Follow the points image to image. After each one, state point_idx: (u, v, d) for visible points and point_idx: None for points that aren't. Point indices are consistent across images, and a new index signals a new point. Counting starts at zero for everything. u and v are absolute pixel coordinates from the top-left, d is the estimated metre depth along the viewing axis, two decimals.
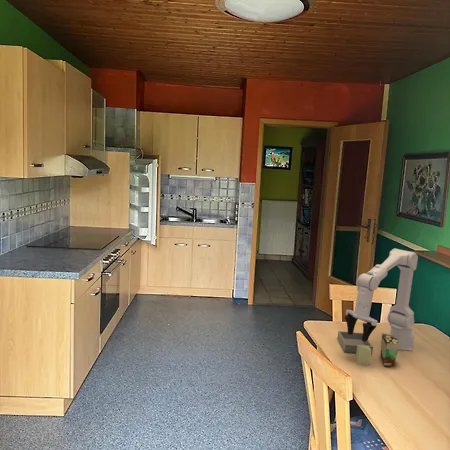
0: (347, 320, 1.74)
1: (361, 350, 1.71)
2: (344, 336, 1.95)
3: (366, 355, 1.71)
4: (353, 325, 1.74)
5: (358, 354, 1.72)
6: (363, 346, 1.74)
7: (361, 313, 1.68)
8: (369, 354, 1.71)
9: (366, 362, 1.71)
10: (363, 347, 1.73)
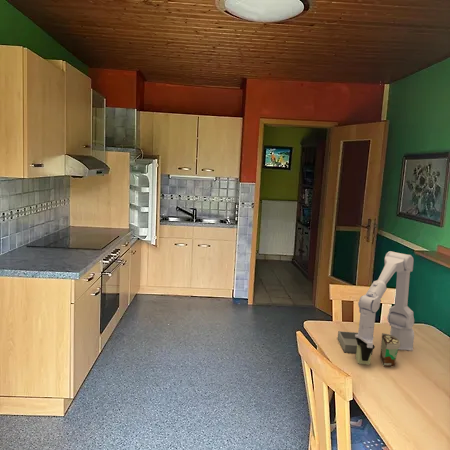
0: (357, 341, 1.76)
1: None
2: (344, 336, 1.95)
3: None
4: None
5: (358, 354, 1.72)
6: None
7: (361, 334, 1.70)
8: None
9: (366, 362, 1.71)
10: None
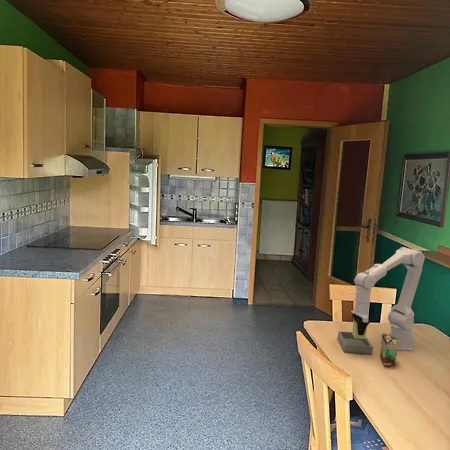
0: (353, 317, 1.84)
1: None
2: (344, 336, 1.95)
3: None
4: None
5: (354, 329, 1.81)
6: None
7: (357, 309, 1.79)
8: None
9: (362, 337, 1.80)
10: None
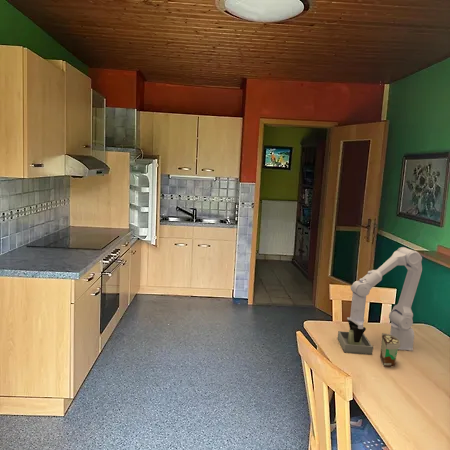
0: None
1: (352, 334, 1.85)
2: (344, 336, 1.95)
3: None
4: None
5: (350, 338, 1.87)
6: None
7: (353, 316, 1.85)
8: None
9: None
10: None
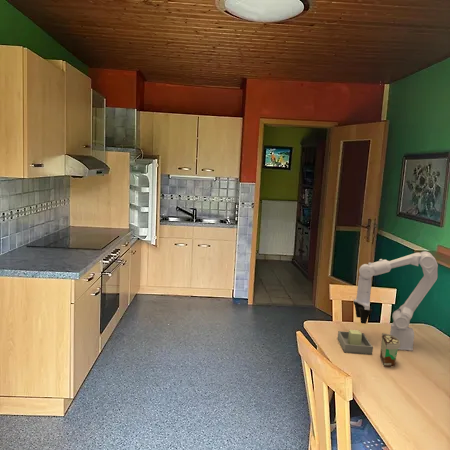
0: None
1: (352, 334, 1.85)
2: (344, 336, 1.95)
3: (357, 338, 1.85)
4: None
5: (350, 338, 1.87)
6: (354, 330, 1.89)
7: (359, 298, 1.92)
8: (360, 338, 1.85)
9: None
10: (354, 331, 1.87)
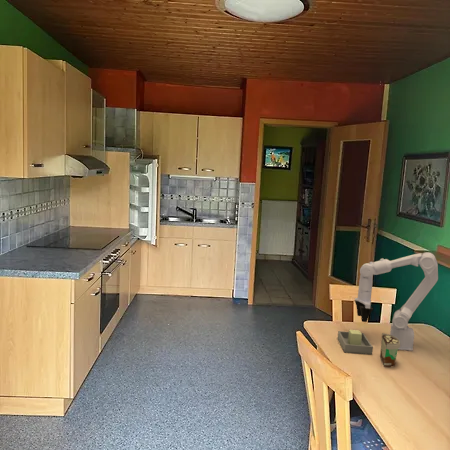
0: None
1: (352, 334, 1.85)
2: (344, 336, 1.95)
3: (357, 338, 1.85)
4: None
5: (350, 338, 1.87)
6: (354, 330, 1.89)
7: (360, 297, 1.94)
8: (360, 338, 1.85)
9: None
10: (354, 331, 1.87)
